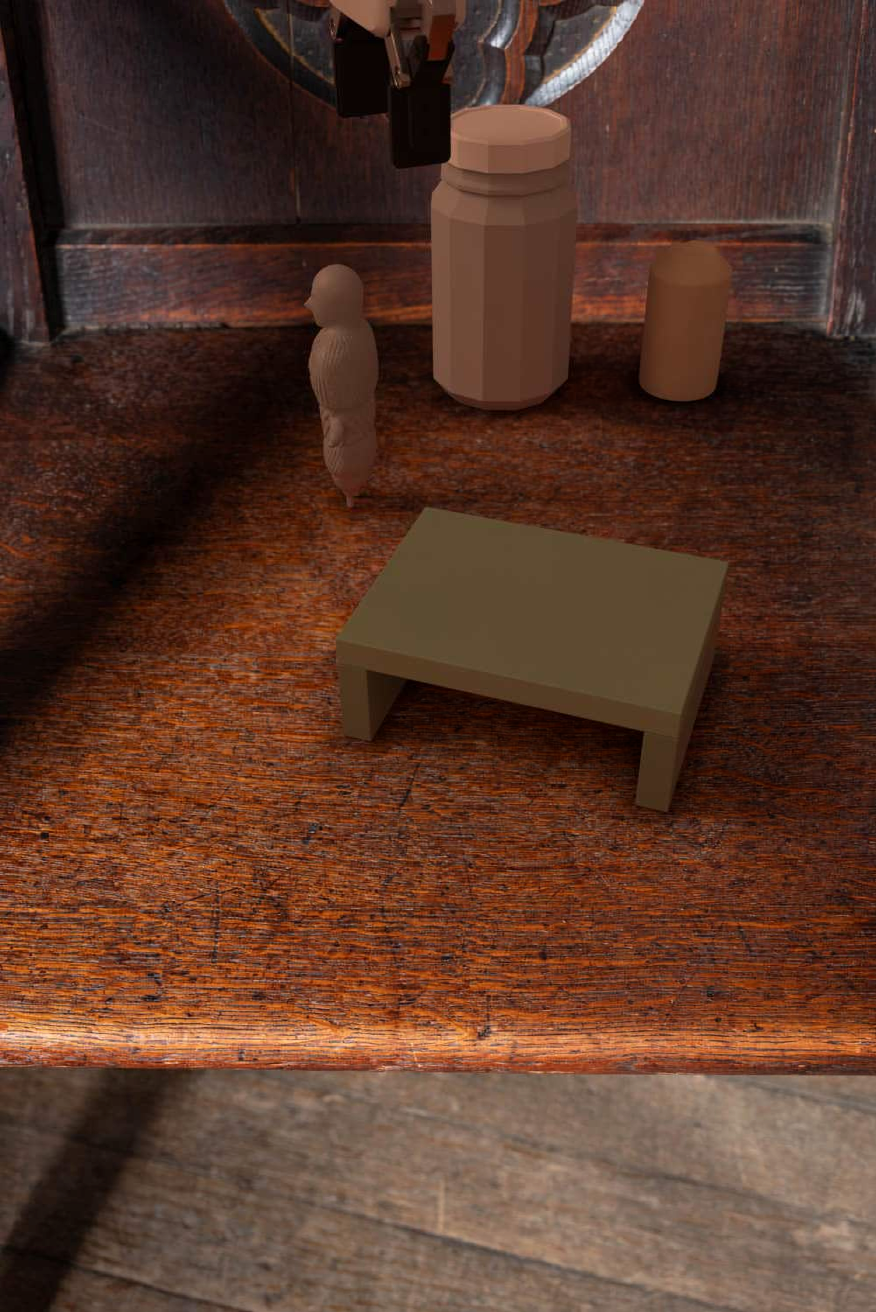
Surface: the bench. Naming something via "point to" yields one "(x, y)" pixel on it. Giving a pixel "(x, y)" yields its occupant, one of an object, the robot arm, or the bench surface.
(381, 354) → the bench surface
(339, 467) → the figurine
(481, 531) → the shelf
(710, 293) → the candle
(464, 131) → the jar
